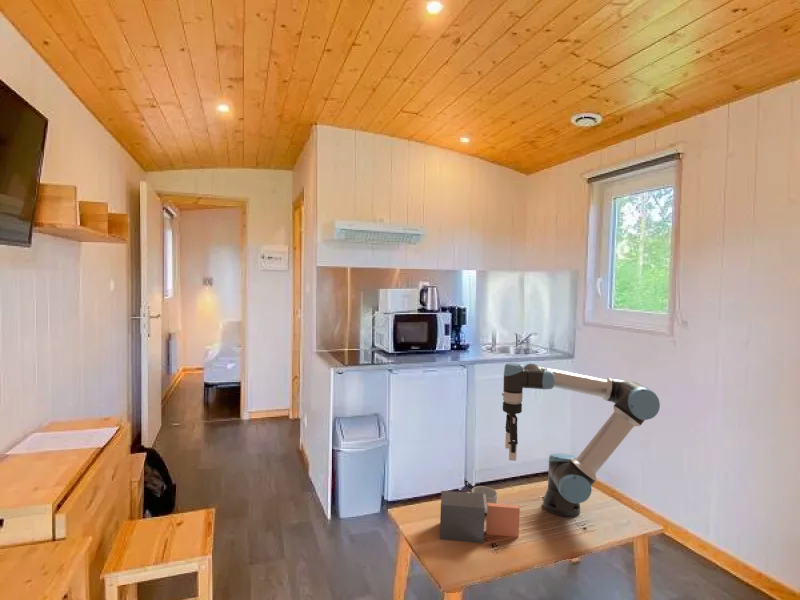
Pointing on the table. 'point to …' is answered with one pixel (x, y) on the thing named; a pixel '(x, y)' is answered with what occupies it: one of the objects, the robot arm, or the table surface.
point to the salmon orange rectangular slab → (502, 519)
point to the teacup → (490, 493)
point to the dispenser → (462, 516)
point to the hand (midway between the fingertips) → (510, 454)
